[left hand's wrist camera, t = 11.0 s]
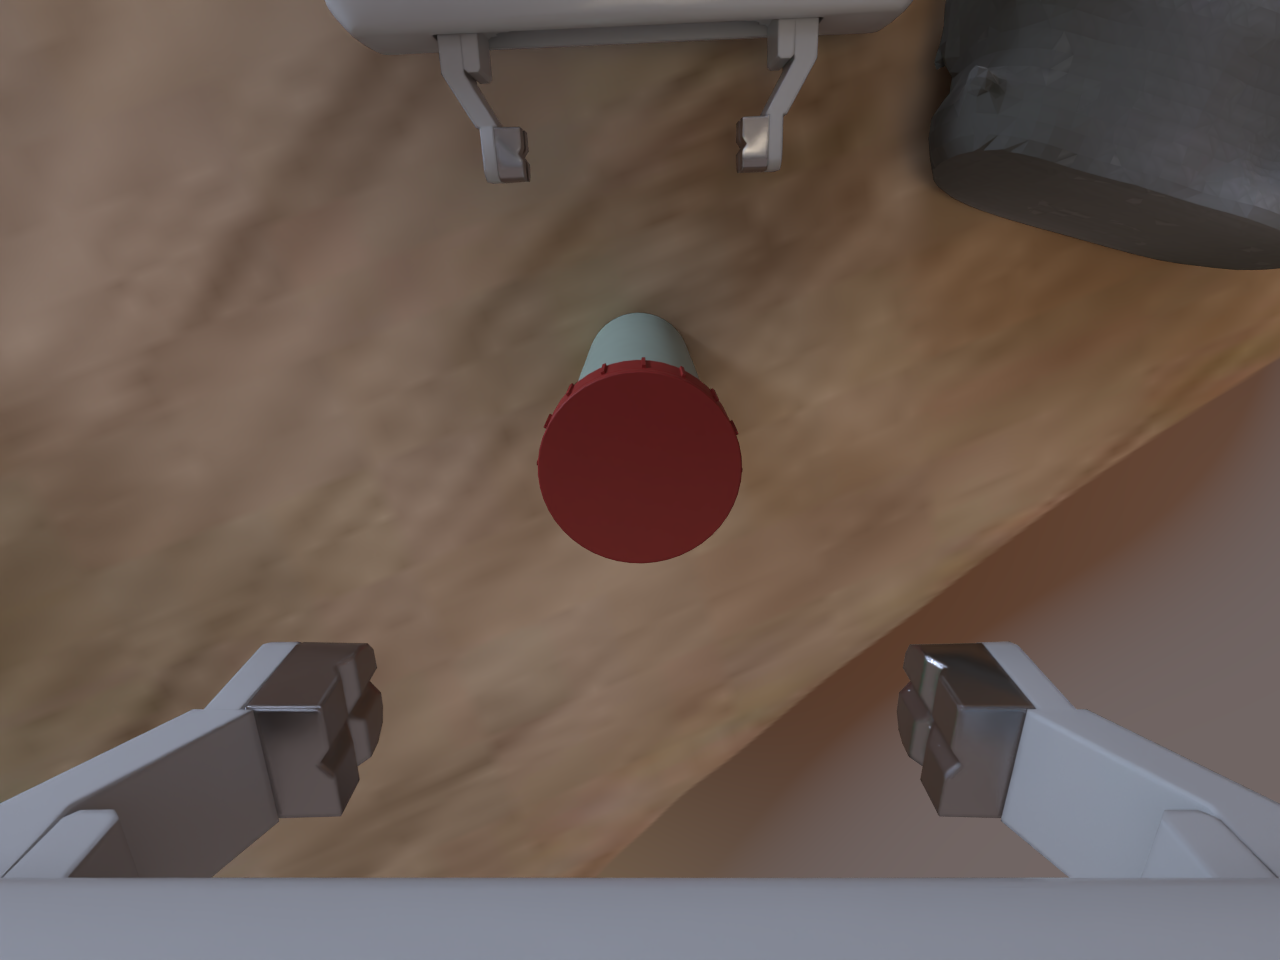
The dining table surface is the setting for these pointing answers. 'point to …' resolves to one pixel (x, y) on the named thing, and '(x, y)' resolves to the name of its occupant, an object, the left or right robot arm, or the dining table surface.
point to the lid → (639, 462)
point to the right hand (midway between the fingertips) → (633, 177)
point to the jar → (638, 343)
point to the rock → (1118, 123)
